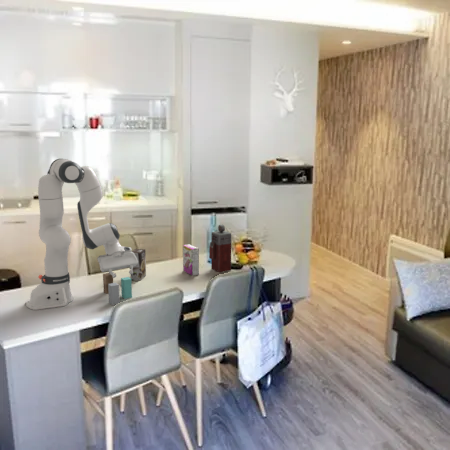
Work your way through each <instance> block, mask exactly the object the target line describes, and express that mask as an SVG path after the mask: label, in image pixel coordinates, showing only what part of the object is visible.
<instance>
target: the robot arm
mask: <svg viewBox="0 0 450 450" xmlns="http://www.w3.org/2000/svg"><path fill="white" fill-rule="evenodd" d="M64 183H66V184H75V185H76V186H77V190H78V193H79V201H78V202H77V204H76V205H77V212H78V219H79V223H80V228H81V233H82V235H81V237H82V238H81V239H82V242H83V245H84V246H85V248H87V249H89V250H94V249H97V248H98V247H101V246H103V248H104V252H105V254H102V255H98V256H97V257H96V259H97V262H98V265H99V268H100V269H99V270H100V271H101V272H102V273H106V272H107V273H110V274H111V275H112V277H113V279H114V278H116V277H117V273H114V272H113V271H117V270H122V269H123V270H124V269H129V271H128V273H129V275H131V274H133V267H134V266H136V265H137V263H138V260H137V258H136V256H135V254H134V253H133V252H132V251H133V249H132V247H129V246H124V245H121V243H120V242H119V239H120V236H121V235H120V233H119V231H118V227H117V225H116V224H114V223H112V222H108V223H105V224H102V225H99V226H97V227H94V228H91V229H90V225H89V220H88V214H89V212H90V211H91V210H92V209H93V208H94V207H96V206H97V205H98V204H99V202H101V200H102V198H103V194H104V193H103V188H102V186H101V183H100V180H99V178H98V176H97V174H96V172H95V171H94V169H93V168H92V167H91V166H86V165H85V166H84V165H83V166H81V165H79V164H78V163H76V162H75V161H72V160H70V159H68V158H58V159H54V160H53V161H52V162H51V164H50V166H49V169H48V171H47V174H45V175H42V176H41V177H40V178H39V180H38V185H37V186H38V187H37V188H38V190H37V191H38V192H37V193H38V196H37V197H38V206H39V229H38V237H39V238H40V239H39V240H41V242H42V243H44V244H45V248H46V249H45V256H44V260H43V262H44V275H43V274H39V275H38V277H37V278H38V279H39V280H40V281H41V282H40V283H39V284H38V285H37V286H35V288H33V289H32V290H31V292H30V297H29V299H27V300H26V301H25V306H26V308H28V309H30V310H33V311H37V310H43V309H45V310H46V309H53V308H57V307H58V308H60V307H65V306H67V305H68V304H69V303H71V302H72V301H73V300H74V297H73V295H72V291H71V287H70V282H71V276H70V272H69V263H68V261H69V259H68V256H69V250H70V245H71V243H72V242H71V241H72V238H71V236H70V235H71V234H70V233H69V231H68V230H66V229H65V228H64V227H63V216H64V213H65V209H64V200H63V198H64V197H63V191H62V190H63V186H64ZM130 269H131V270H130Z"/></svg>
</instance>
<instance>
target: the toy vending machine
mask: <svg viewBox="0 0 450 450" xmlns="http://www.w3.org/2000/svg"><path fill="white" fill-rule="evenodd" d="M217 229H218V230H217V231H212V232H211V241H210V242H209V247H208V248H209V254H208V256H209V257H208V258H209V259H210V260H211V261H210V263H211V265H210V268H211V270H213V271H215V272H217V273H223V271H224V272H228V271H229V272H230V271H232V232H229V231H226V230H225V229H226V227H225V225H224V224H219V225H218V226H217Z"/></svg>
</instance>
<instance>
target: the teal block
mask: <svg viewBox="0 0 450 450" xmlns="http://www.w3.org/2000/svg"><path fill="white" fill-rule="evenodd" d="M132 281H133V280H132V279H131V277H129V276H126V277H121V278H120V283H121V285H120V286H121V287H120V288H121V289H120V290H121V291H120V293H121V298H123V299H126V300H127V299H130V298H131V299H132V298H133V287H132V286H133V284H132Z"/></svg>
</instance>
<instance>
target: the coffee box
mask: <svg viewBox="0 0 450 450" xmlns="http://www.w3.org/2000/svg"><path fill="white" fill-rule="evenodd" d="M131 252H133V253H134V254H135V256H136V258H137V260H138V263H137V265H136V266H134V267H133V274H130V278H131V280H132V281H133V280H134V281H141V280H143V279H144V278H145V277H146V276H147V262H146V259H147V258H146V254H147V253H146V248H135V249H132V251H131ZM130 270H131V269H130V268H129V271H130Z"/></svg>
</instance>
